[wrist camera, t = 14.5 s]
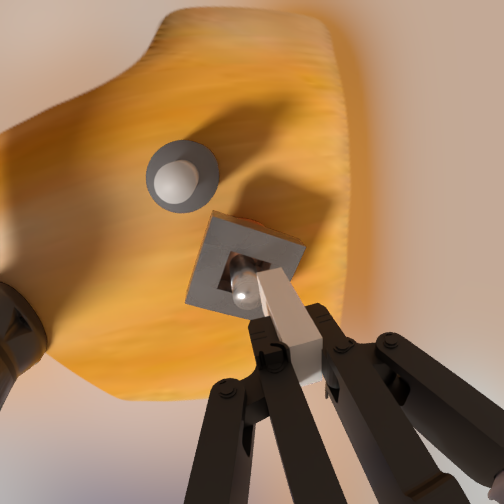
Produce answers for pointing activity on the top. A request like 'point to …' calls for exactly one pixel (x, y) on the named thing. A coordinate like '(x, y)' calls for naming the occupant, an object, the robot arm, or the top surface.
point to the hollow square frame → (243, 242)
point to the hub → (244, 277)
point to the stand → (182, 176)
